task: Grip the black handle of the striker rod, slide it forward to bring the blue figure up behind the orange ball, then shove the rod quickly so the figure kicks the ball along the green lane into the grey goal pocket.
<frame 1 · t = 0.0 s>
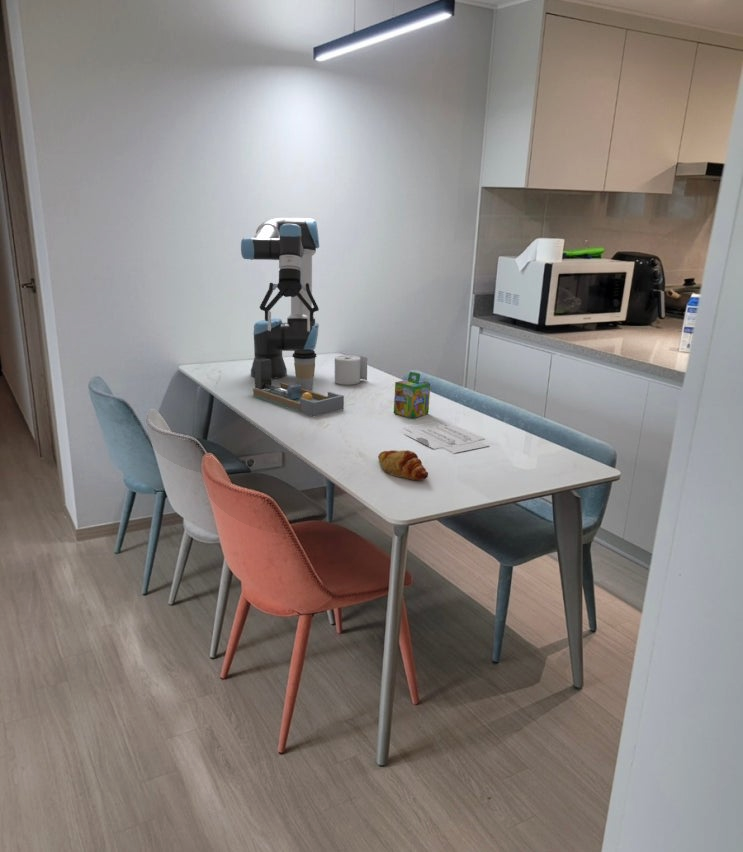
hand: (288, 331, 246), 28 cm above the table, tool tilted 20°, fingers open, 13 cm apart
toilet tissue: (348, 381, 293), on the table
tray: (444, 439, 228), on the table
coffee cup: (304, 388, 281), on the table
goal: (321, 410, 252), on the table
striker rod: (277, 378, 267), point 7 cm above the table, slide at 0.0 cm
ball: (306, 397, 257), point 3 cm above the table, touching lane
chalk box: (411, 414, 251), on the table
lane: (291, 400, 264), on the table
croissant: (402, 472, 198), on the table
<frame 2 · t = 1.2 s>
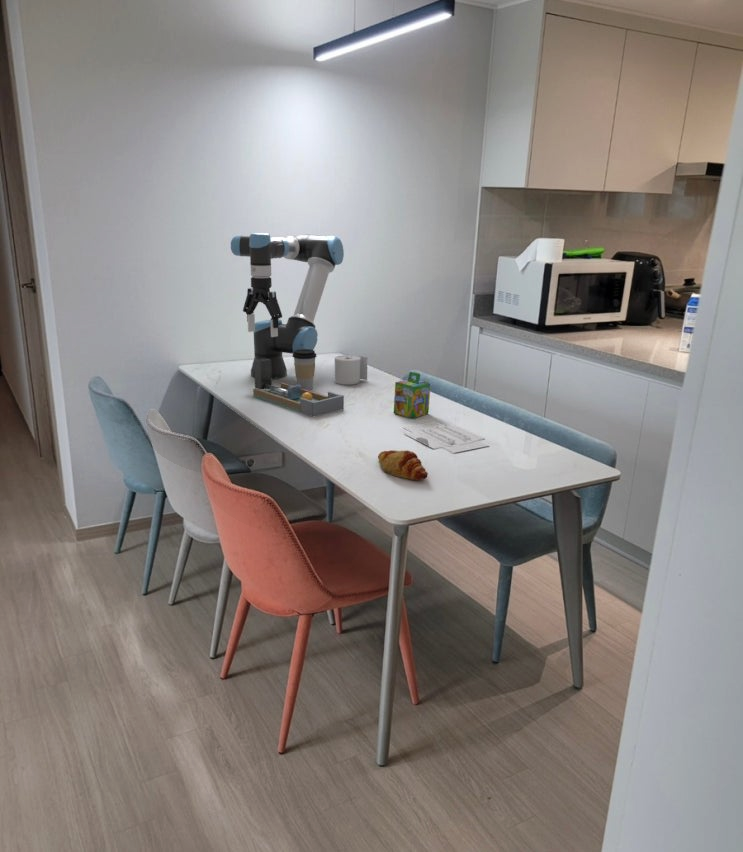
hand: (262, 334, 268), 23 cm above the table, tool pointing down, fingers open, 13 cm apart
nothing on the table moved.
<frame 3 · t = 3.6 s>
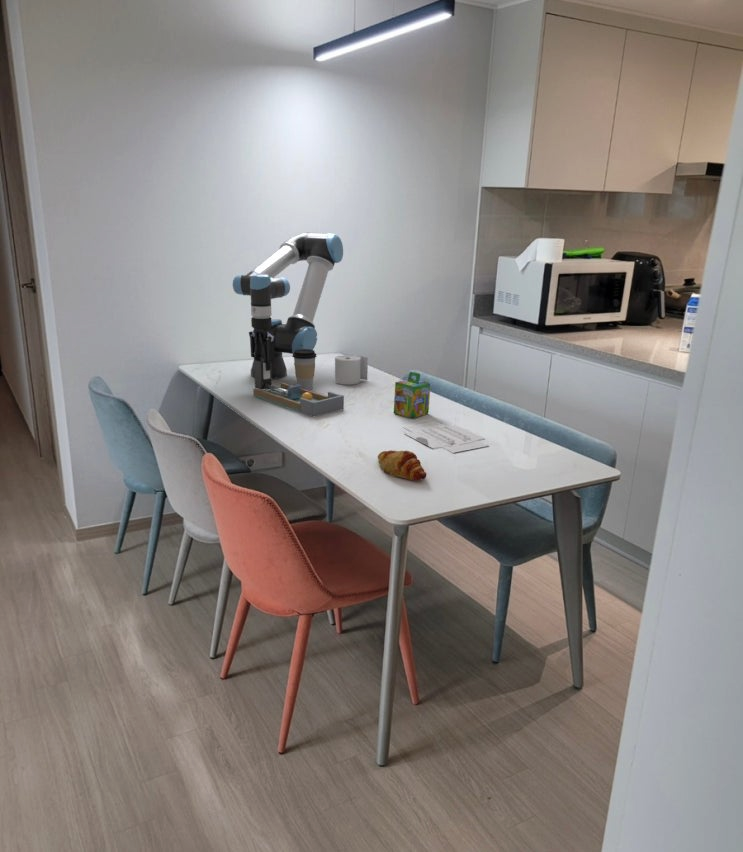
hand: (263, 377, 273), 6 cm above the table, tool pointing down, fingers closed on striker rod, 4 cm apart
striker rod: (277, 378, 267), point 7 cm above the table, slide at 0.0 cm, touching gripper
everything else where it was.
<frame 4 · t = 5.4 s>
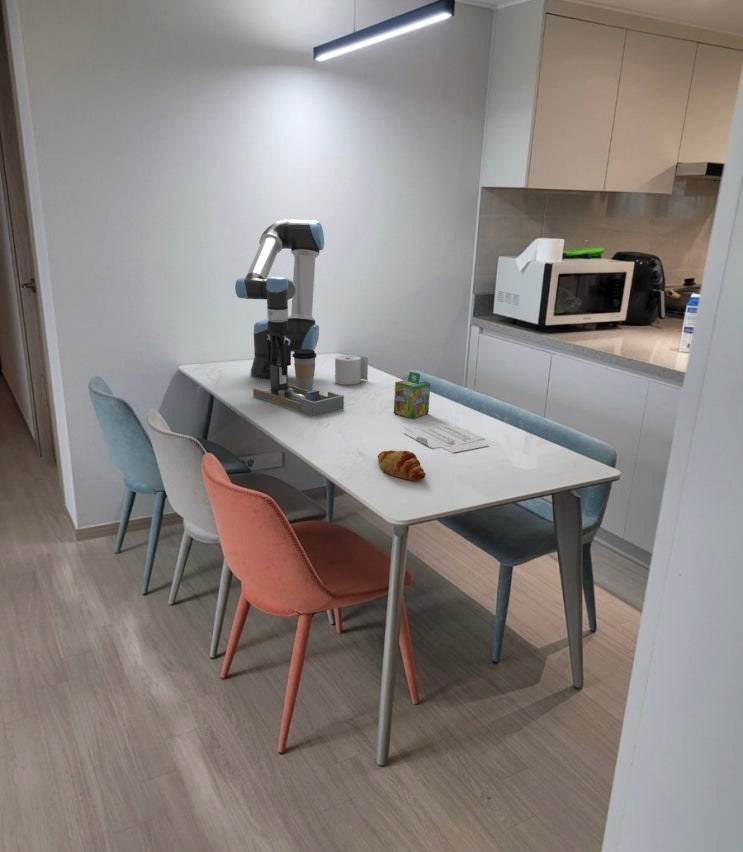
hand: (279, 382, 267), 6 cm above the table, tool pointing down, fingers closed on striker rod, 4 cm apart
striker rod: (294, 383, 260), point 7 cm above the table, slide at 10.0 cm, touching gripper
ball: (323, 405, 251), point 2 cm above the table, tilted 103°
everything else where it was.
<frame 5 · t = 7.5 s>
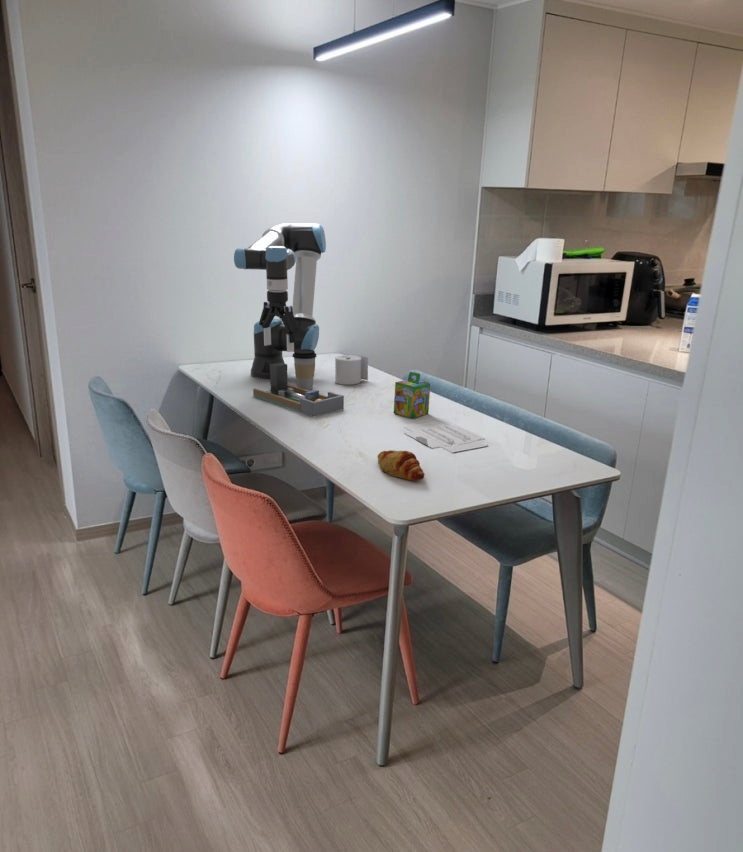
hand: (278, 348, 263), 19 cm above the table, tool pointing down, fingers open, 13 cm apart
striker rod: (294, 383, 260), point 7 cm above the table, slide at 9.9 cm
ball: (319, 404, 253), point 2 cm above the table, tilted 159°
everything else where it was.
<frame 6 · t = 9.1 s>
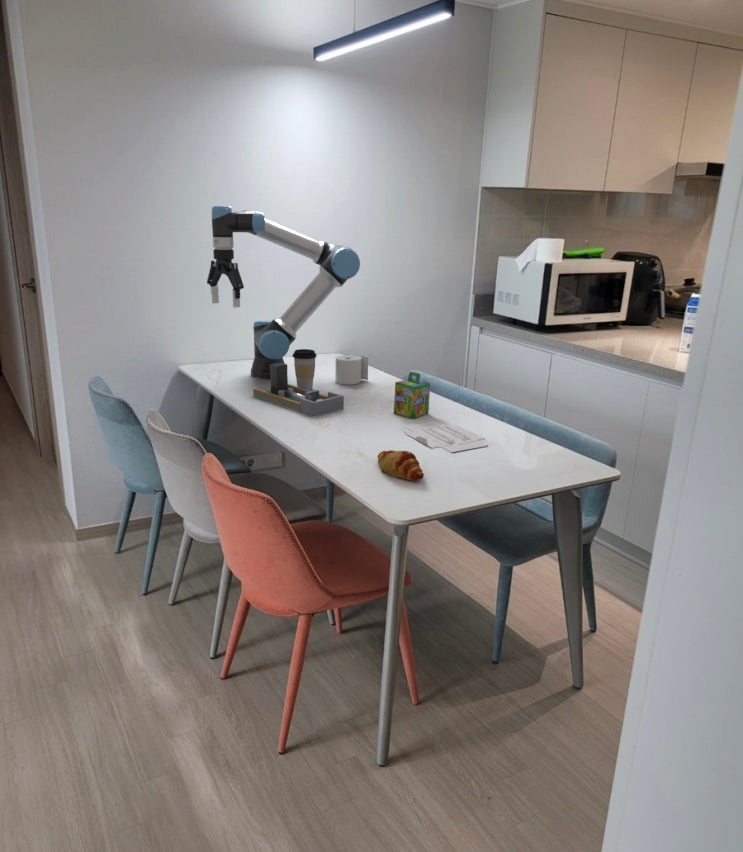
hand: (225, 305, 274), 32 cm above the table, tool pointing down, fingers open, 13 cm apart
ball: (320, 404, 252), point 2 cm above the table, tilted 148°
everything else where it was.
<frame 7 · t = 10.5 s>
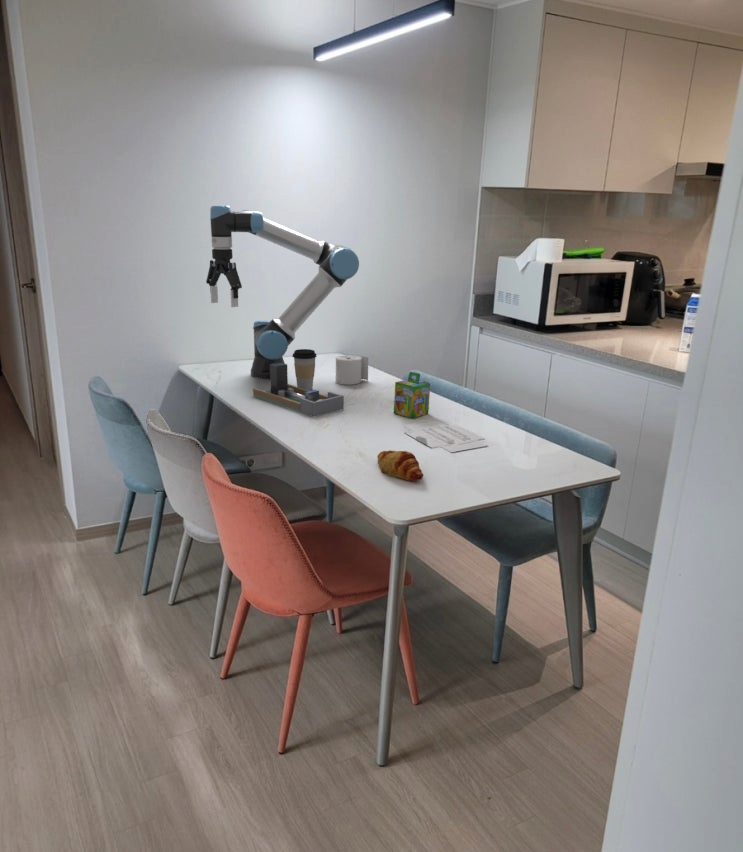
hand: (224, 304, 274), 32 cm above the table, tool pointing down, fingers open, 13 cm apart
ball: (320, 404, 252), point 2 cm above the table, tilted 139°
everything else where it was.
at the end: ball inside the target area on the goal (0.8 cm from its centre), point 2.0 cm above the goal's base; striker rod slide at 9.9 cm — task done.
